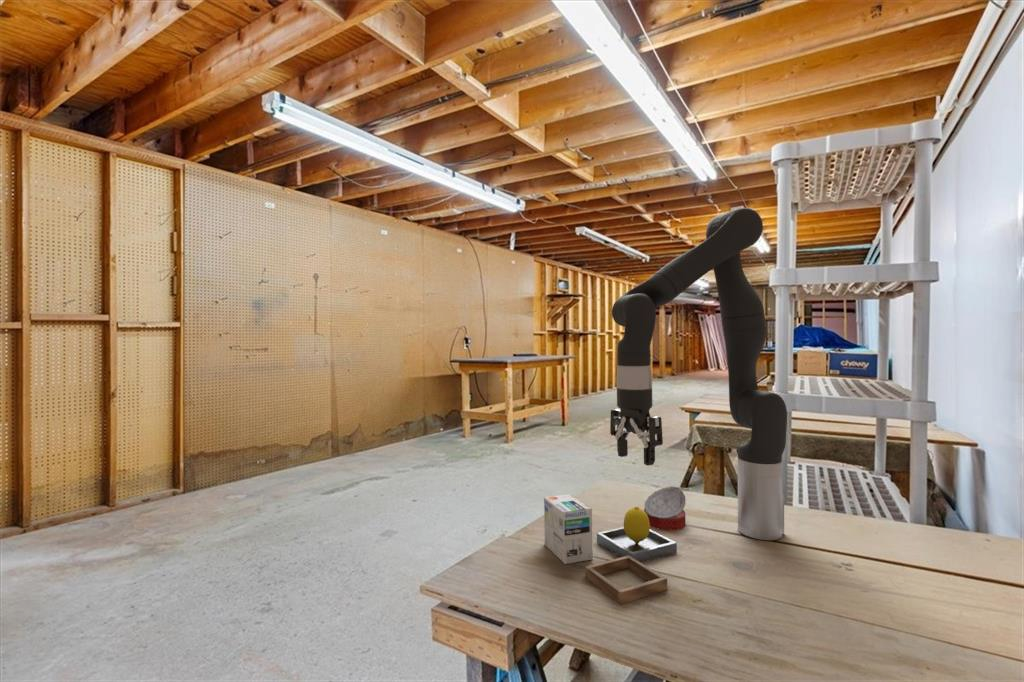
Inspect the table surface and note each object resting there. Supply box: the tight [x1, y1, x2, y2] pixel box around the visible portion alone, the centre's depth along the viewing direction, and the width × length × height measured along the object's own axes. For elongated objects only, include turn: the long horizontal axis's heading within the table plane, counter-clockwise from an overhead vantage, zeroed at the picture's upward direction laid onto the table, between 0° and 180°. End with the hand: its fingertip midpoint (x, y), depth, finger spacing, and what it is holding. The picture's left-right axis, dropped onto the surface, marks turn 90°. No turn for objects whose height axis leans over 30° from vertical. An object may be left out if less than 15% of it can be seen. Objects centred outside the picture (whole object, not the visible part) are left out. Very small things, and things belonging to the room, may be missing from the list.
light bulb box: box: [543, 493, 594, 565], centre depth 104 cm, size 11×7×11 cm, turn 20°
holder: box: [584, 555, 668, 605], centre depth 90 cm, size 11×11×2 cm
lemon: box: [623, 506, 651, 544], centre depth 105 cm, size 6×6×8 cm
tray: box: [596, 526, 678, 564], centre depth 106 cm, size 12×12×2 cm
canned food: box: [643, 485, 686, 531], centre depth 120 cm, size 11×10×10 cm
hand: (635, 460), depth 105 cm, fingers open, 8 cm apart
